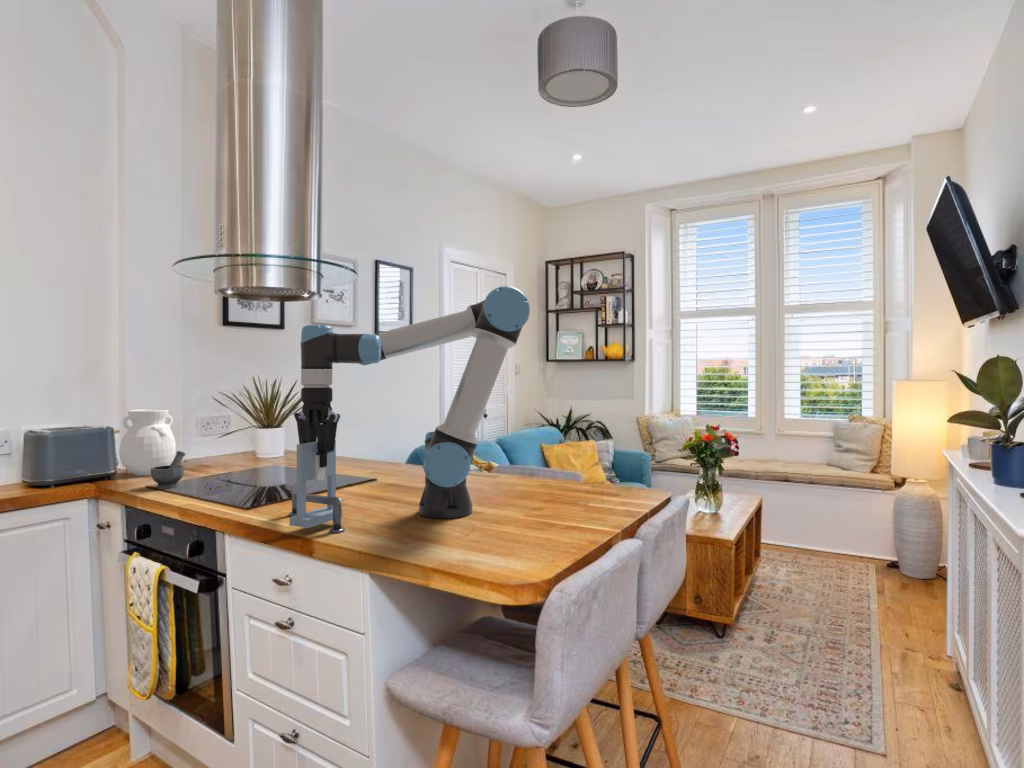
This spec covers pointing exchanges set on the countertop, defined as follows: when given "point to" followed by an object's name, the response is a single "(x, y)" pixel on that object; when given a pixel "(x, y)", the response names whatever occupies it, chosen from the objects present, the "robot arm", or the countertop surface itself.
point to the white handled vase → (147, 441)
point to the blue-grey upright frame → (306, 473)
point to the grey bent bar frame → (322, 500)
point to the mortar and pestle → (169, 473)
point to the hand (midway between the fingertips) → (316, 479)
